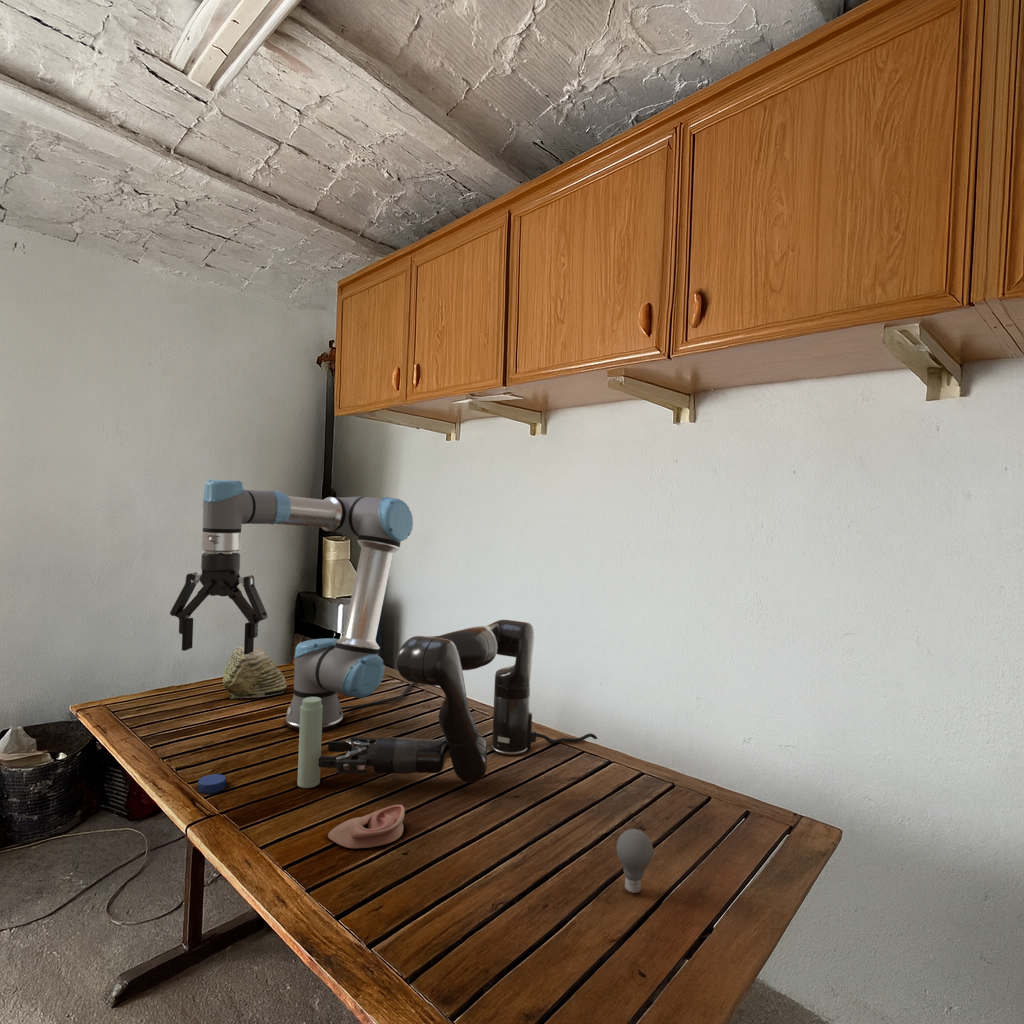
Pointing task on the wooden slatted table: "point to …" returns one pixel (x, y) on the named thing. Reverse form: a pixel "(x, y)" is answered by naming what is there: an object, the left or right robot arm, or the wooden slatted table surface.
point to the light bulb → (634, 857)
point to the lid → (211, 783)
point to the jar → (310, 742)
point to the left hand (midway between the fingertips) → (217, 651)
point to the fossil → (252, 675)
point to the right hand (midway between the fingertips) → (323, 753)
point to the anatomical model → (370, 828)
